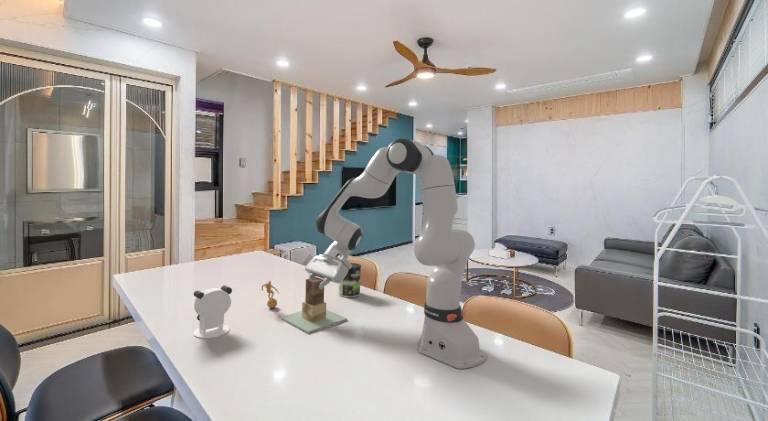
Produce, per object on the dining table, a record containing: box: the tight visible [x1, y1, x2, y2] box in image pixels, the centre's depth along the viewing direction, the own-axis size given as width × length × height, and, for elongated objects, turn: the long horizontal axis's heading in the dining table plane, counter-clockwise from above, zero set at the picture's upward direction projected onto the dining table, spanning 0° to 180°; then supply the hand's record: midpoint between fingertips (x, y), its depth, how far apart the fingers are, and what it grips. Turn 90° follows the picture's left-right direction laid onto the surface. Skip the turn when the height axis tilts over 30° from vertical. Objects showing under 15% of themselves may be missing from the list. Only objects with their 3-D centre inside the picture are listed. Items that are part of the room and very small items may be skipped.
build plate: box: [280, 309, 348, 335], centre depth 136 cm, size 18×18×1 cm
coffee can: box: [338, 262, 362, 298], centre depth 168 cm, size 10×10×14 cm
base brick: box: [301, 301, 327, 322], centre depth 136 cm, size 6×6×6 cm
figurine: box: [261, 280, 280, 309], centre depth 145 cm, size 8×6×12 cm
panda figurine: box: [193, 285, 233, 340], centre depth 122 cm, size 12×11×15 cm
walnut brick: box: [304, 276, 325, 306], centre depth 135 cm, size 5×5×9 cm
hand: (313, 286), depth 134 cm, fingers open, 5 cm apart
